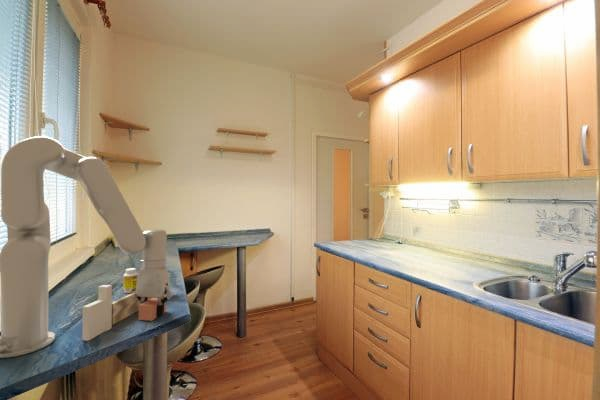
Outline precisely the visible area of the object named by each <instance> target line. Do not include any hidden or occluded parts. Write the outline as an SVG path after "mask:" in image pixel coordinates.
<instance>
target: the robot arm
mask: <svg viewBox="0 0 600 400" xmlns="http://www.w3.org/2000/svg"><path fill="white" fill-rule="evenodd" d="M0 166H1V168H0V182H1V186H0V195H1V196H0V197H1V198H0V199H1V210H0V216H1V217H0V218H1V220H2V222H3V224H5V225H6V228H7V242H6V243H5V244H4V245H3V246H2V248H1V250H0V296H1V297H0V300H1V302H0V303H1V304H0V358H1V359H5V358H6V359H7V358H12V357H13V358H14V357H19V356H23V355H27V354H30V353H33V352H35V351H36V352H37V351H39V350H41V349H43V348H45V347H47V346H49V345H51V344H52V343H53V342H54V341H55V340H56V333H55V332H52V331H49V255H50V251H51V247H52V240H51V224H50V221H51V220H50V219H51V218H50V209H49V207H48V205H47V204H46V203H45V195H44V194H45V193H44V187H45V186H44V185H45V183H44V173H45V170H47V171H50V172H52V173H55V174H59V175H60V176H63V177H66V178H69V179H71V180H74V181H77V182H79V183H80V184H81V186H82V188H83V189H84V191H85V193H86V195H87V196H88V198H89V200H90V202H91V203H92V206H93V207H94V209H95V210H96V212H97V214H98V215H99V216H100V217H101V218H102V220H103V221H104V222H105V224H106V225H107V226H108V228H109V230H110V232H111V234H112V235H113V237H114V238H115V242H116V245H117V247H118V248H119V249H120V250H121V251H122V253H124V254H126V255H137V254H140V253H141V252H142V259H141V260H139V264H141V267H140V268H139V271H138V279H137V286H136V290H135V291H134V292H133V294H134V295H135V296H136V297H137V298H138V300H139V301H140V304H142V303H144V302H146V301H148V298H149V297H150V298H157V300H158V304H159V305H157V318H159V317H160V316H162V315H163V314H165V313H164V303H165V302H166V303H167V301H168V300H169V299H171V298H173V296H174V293H173V292H172V290H171V289H170V277H169V275H168V272H169V270H168V267H167V241H168V237H167V235H168V234H167V231H166V230H165V229H160V228H159V229H158V228H157V229H156V228H155V229H148V230H146V229H145V230H143V229H141V227H140V224H139V223H138V221H137V219H136V217H135V215H134V214H133V212H132V210H131V209H130V206H129V205H128V203H127V201H126V199H125V197H124V196H123V194H122V192H121V190H120V189H119V187H118V184H117V182H116V180H115V178H114V177H113V175H112V173H111V171H110V169H109V168H108V166H107V164H106V162H104V161H103V160H102V159H101V158H98V157H95V156H88V157H87V156H84V155H81V154H79V153H76V152H75V151H72V150H69V149H67V148H65V147H64V146H63V145H62V143H61V142H59V141H58V140H57V139H54V138H53V137H49V136H45V135H43V136H41V135H38V136H33V137H32V136H31V137H29V138H25V139H23V140H20V141H18V142H17V143H14V145H12V146H11V147H10V148H9V149H8V150H7V152H6V153H5V154H4V157H3V160H2V162H1V165H0ZM165 294H167V296H165Z"/></svg>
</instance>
